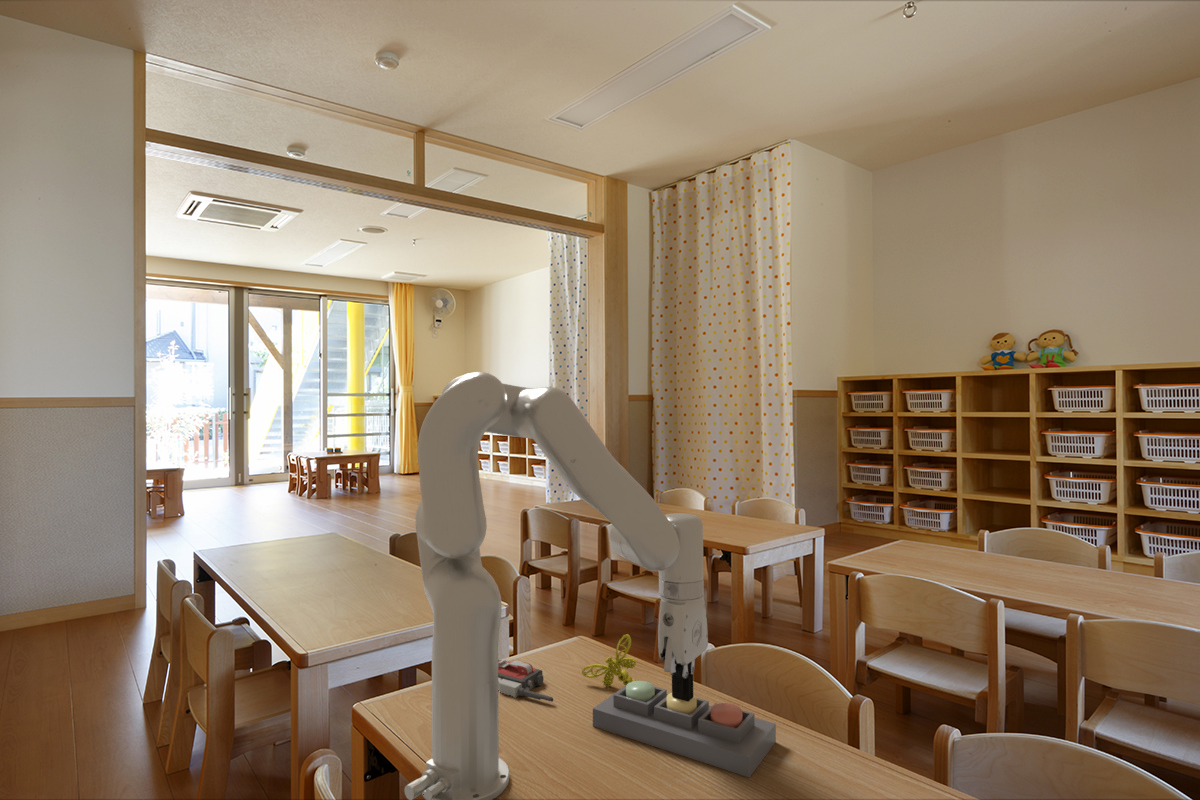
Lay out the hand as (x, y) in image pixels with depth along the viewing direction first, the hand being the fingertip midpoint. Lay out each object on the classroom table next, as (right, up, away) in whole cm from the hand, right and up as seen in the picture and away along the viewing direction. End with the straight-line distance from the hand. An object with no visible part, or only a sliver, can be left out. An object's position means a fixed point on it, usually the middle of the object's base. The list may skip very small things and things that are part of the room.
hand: (682, 697), depth 106 cm
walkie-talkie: (-30, -7, +18) cm, 36 cm away
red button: (+6, -2, -5) cm, 8 cm away
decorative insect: (-11, -7, +19) cm, 23 cm away
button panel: (0, -6, 0) cm, 6 cm away
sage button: (-7, -3, +4) cm, 9 cm away
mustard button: (0, -2, 0) cm, 3 cm away
